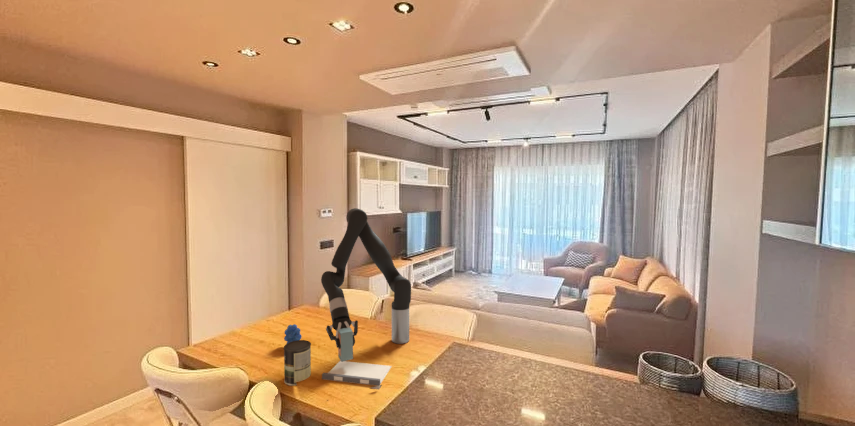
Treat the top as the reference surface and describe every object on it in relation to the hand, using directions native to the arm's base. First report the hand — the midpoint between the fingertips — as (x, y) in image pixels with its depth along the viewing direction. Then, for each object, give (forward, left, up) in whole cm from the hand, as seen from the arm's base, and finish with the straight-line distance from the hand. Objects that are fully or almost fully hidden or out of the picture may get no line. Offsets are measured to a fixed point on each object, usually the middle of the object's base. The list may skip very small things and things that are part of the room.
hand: (346, 346), depth 143 cm
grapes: (-18, -36, -12) cm, 42 cm away
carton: (-1, -1, -6) cm, 6 cm away
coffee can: (+9, -17, -12) cm, 23 cm away
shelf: (+1, +6, -11) cm, 13 cm away
